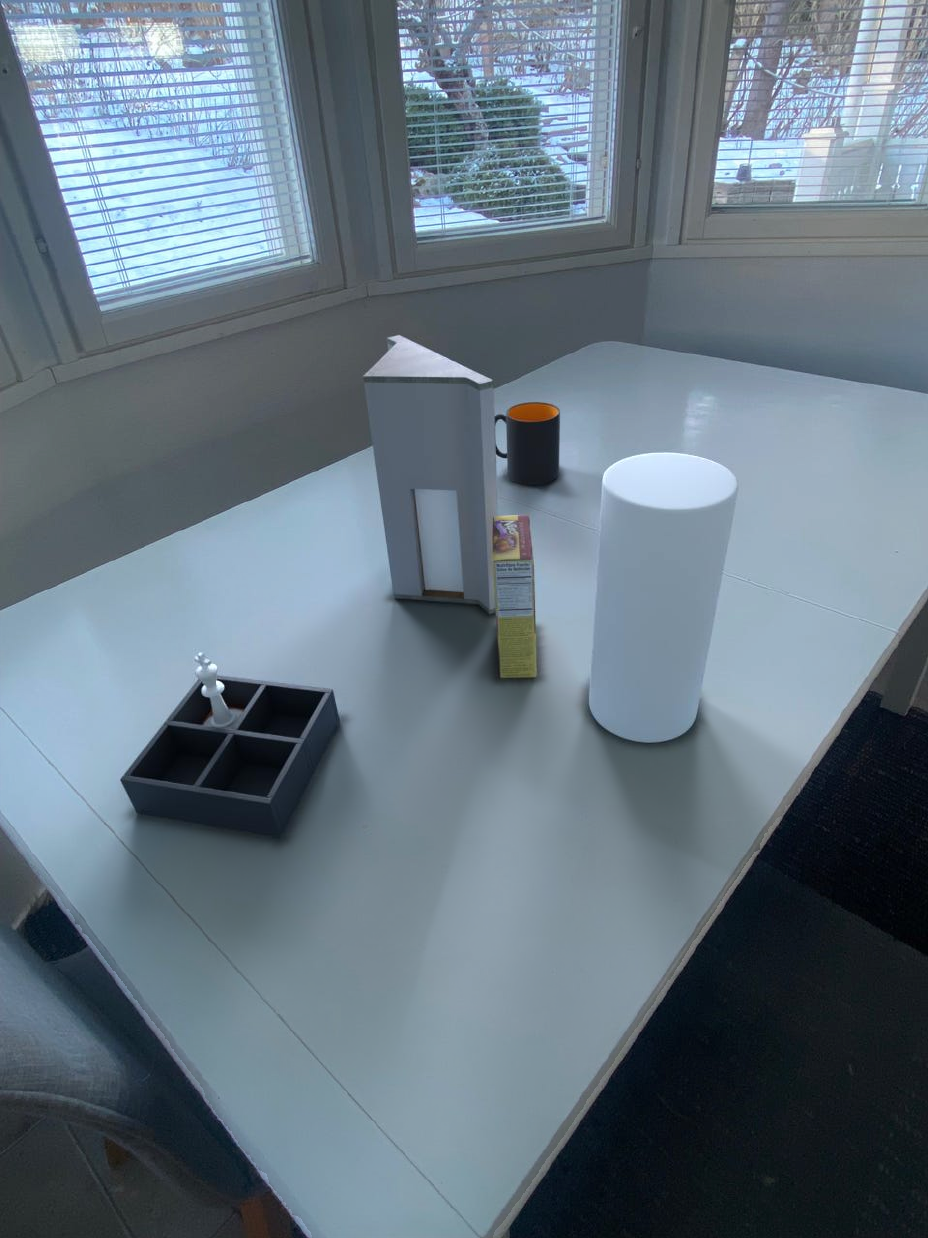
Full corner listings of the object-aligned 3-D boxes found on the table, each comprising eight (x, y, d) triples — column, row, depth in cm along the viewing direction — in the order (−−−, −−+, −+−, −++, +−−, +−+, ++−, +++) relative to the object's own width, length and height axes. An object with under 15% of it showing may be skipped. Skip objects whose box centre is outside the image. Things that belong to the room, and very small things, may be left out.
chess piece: (227, 707, 76) (201, 632, 70) (262, 722, 74) (238, 646, 68) (191, 738, 73) (161, 661, 67) (227, 755, 71) (199, 677, 65)
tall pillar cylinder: (658, 659, 79) (687, 442, 65) (719, 723, 71) (768, 492, 56) (570, 686, 77) (579, 466, 62) (622, 756, 69) (647, 522, 54)
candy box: (496, 629, 85) (492, 514, 76) (533, 628, 85) (533, 512, 76) (496, 680, 78) (491, 559, 69) (537, 679, 78) (537, 558, 69)
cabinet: (501, 610, 88) (493, 380, 72) (431, 638, 85) (406, 402, 68) (420, 539, 103) (399, 334, 87) (358, 560, 100) (323, 351, 83)
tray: (280, 838, 63) (269, 804, 61) (136, 813, 67) (119, 779, 64) (340, 722, 75) (333, 688, 72) (214, 705, 78) (202, 673, 75)
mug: (504, 455, 124) (503, 395, 118) (568, 468, 119) (569, 406, 112) (478, 474, 119) (475, 412, 113) (543, 489, 113) (543, 425, 107)
